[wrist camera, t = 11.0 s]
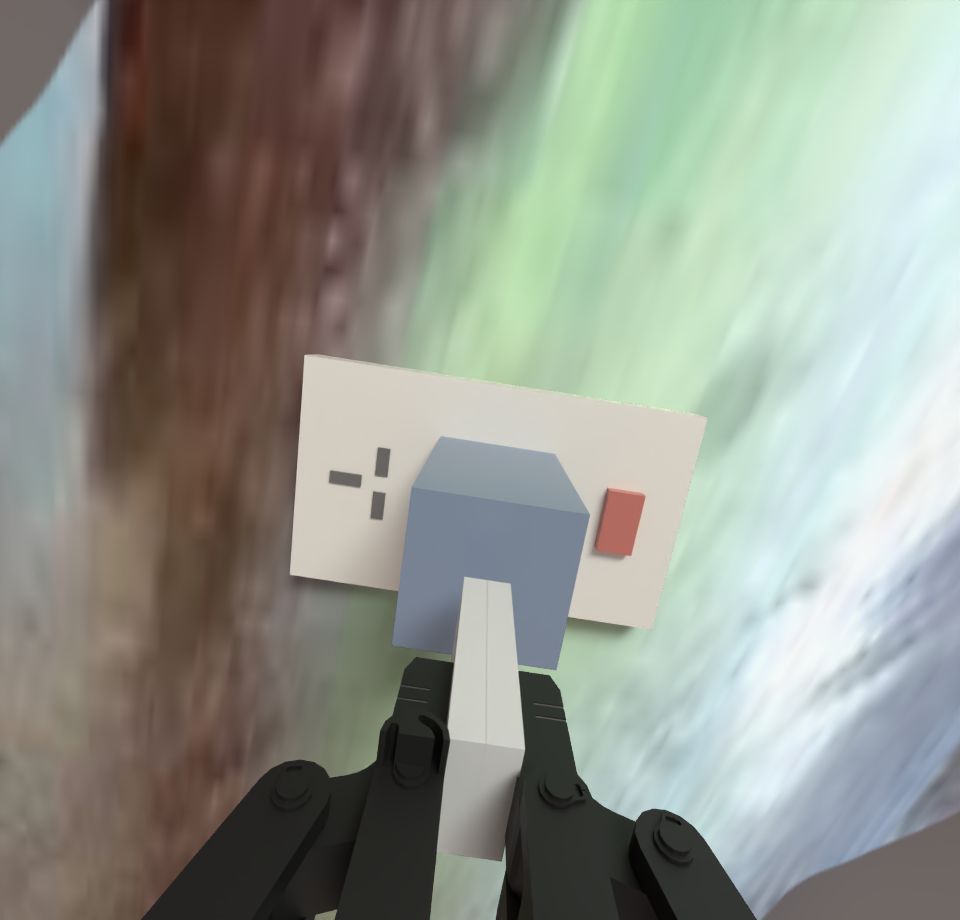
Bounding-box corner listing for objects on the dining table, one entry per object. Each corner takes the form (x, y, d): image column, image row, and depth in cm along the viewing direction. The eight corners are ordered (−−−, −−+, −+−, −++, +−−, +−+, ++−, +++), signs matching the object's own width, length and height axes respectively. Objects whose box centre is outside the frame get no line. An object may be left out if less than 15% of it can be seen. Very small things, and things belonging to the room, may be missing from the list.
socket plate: (692, 413, 28) (712, 419, 26) (641, 611, 31) (655, 635, 29) (317, 354, 28) (300, 355, 25) (302, 560, 31) (285, 579, 28)
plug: (550, 446, 29) (590, 514, 17) (531, 545, 30) (556, 670, 19) (444, 430, 29) (411, 487, 17) (430, 530, 30) (391, 645, 19)
